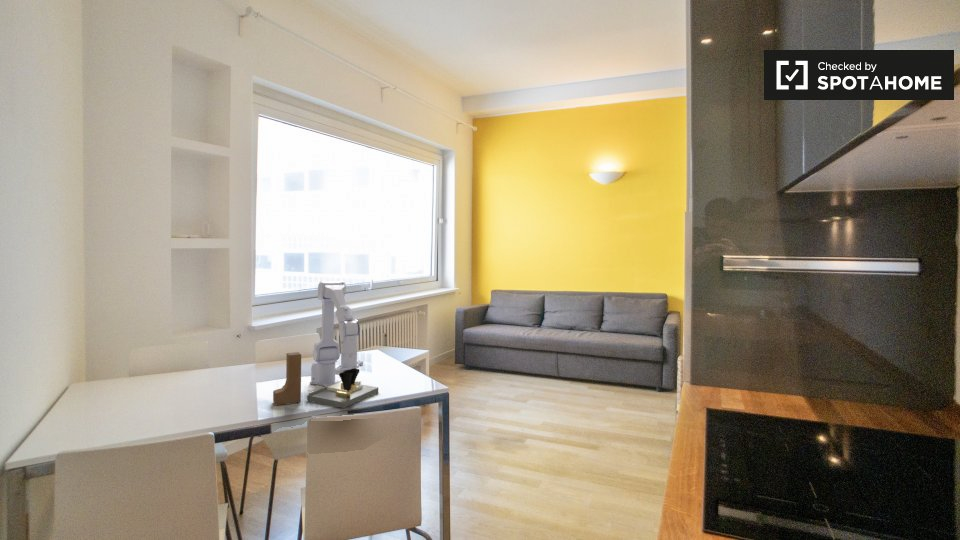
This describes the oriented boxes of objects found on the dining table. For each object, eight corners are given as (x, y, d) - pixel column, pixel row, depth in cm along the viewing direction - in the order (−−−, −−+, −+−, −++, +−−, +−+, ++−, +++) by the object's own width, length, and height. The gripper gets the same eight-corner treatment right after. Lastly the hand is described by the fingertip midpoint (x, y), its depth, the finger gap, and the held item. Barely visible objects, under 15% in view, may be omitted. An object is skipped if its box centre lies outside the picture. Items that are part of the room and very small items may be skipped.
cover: (327, 390, 194) (327, 383, 194) (342, 384, 202) (342, 378, 202) (348, 393, 190) (348, 387, 190) (362, 387, 198) (362, 381, 198)
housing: (307, 400, 187) (307, 392, 187) (343, 386, 206) (343, 379, 206) (344, 408, 180) (344, 399, 180) (378, 392, 200) (378, 384, 200)
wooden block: (274, 406, 180) (275, 356, 179) (273, 402, 184) (273, 353, 183) (301, 402, 185) (301, 354, 184) (298, 399, 189) (299, 351, 188)
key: (335, 395, 188) (335, 381, 188) (337, 394, 189) (337, 380, 189) (353, 398, 185) (354, 385, 184) (356, 397, 186) (356, 384, 186)
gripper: (345, 358, 177) (344, 396, 178) (369, 350, 190) (369, 385, 191) (329, 356, 180) (328, 393, 181) (354, 348, 193) (354, 383, 194)
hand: (348, 389), depth 186 cm, fingers closed on key
